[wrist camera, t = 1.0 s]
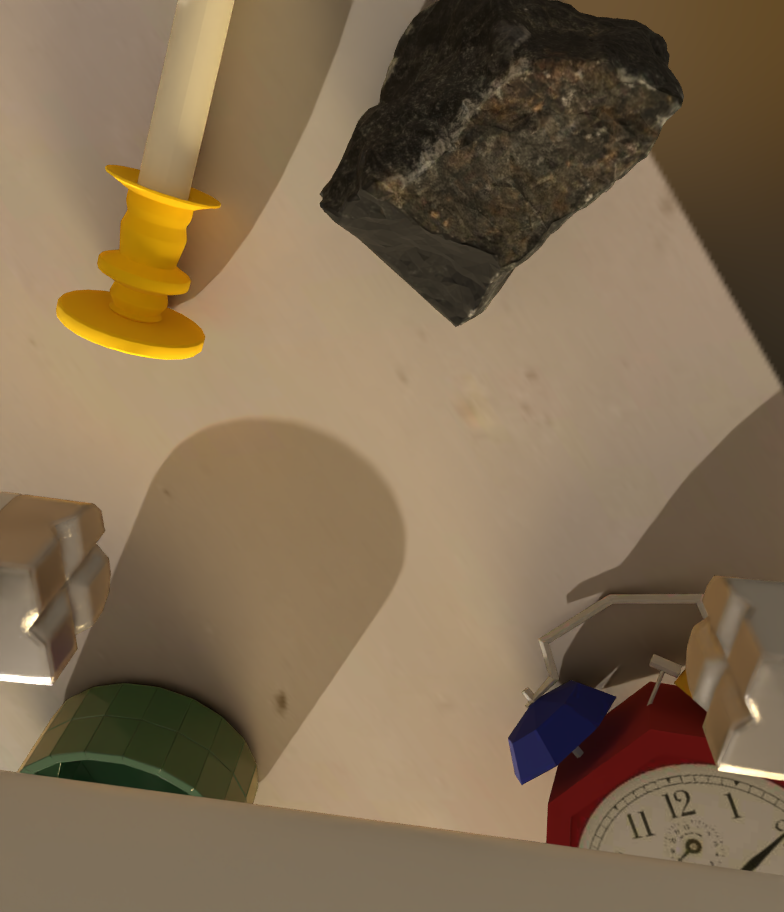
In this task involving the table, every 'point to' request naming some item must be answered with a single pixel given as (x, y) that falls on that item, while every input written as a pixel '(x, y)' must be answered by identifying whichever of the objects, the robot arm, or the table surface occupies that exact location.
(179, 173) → the candle
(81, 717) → the bowl
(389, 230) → the rock
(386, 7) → the table surface
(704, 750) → the alarm clock
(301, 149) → the table surface
